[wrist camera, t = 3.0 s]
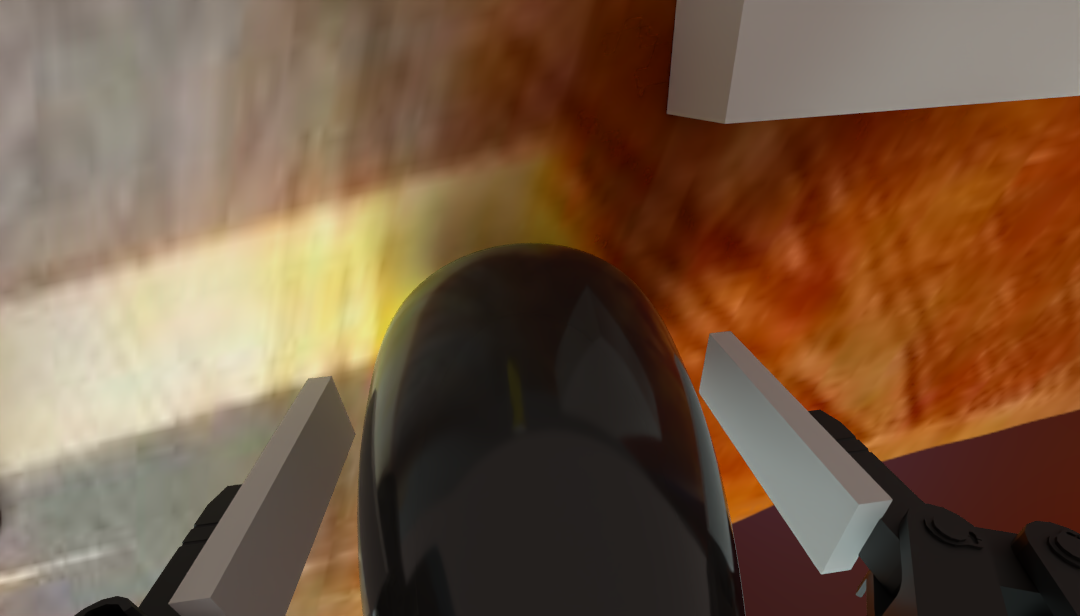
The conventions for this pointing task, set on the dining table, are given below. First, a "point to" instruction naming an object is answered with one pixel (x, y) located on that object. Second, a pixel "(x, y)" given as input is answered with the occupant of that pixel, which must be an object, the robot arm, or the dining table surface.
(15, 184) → the dining table surface
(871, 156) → the dining table surface
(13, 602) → the dining table surface
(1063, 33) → the ceramic base
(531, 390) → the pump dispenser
